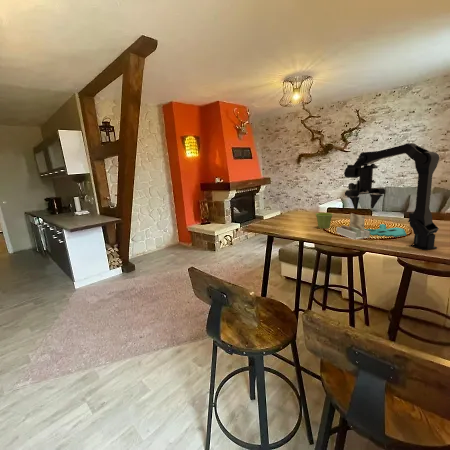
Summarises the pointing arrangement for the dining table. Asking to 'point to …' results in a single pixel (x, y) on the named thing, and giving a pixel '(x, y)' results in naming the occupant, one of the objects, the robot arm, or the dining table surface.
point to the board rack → (352, 233)
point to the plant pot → (324, 219)
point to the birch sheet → (357, 221)
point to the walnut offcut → (346, 227)
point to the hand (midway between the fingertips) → (363, 209)
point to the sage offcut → (356, 231)
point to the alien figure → (387, 231)
